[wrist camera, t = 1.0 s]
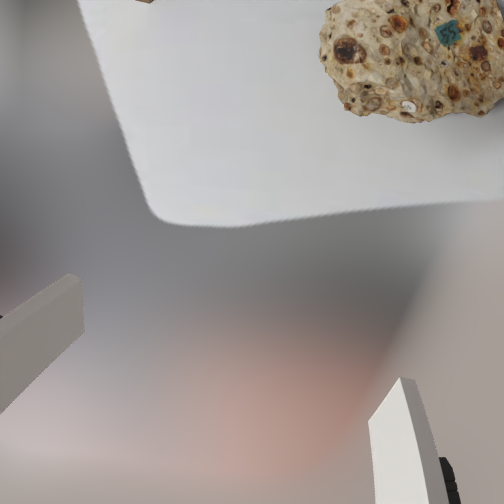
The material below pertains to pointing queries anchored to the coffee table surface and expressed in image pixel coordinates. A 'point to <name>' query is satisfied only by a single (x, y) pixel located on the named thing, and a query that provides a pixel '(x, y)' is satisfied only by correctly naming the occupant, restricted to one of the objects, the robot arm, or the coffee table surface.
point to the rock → (415, 57)
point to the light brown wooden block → (146, 0)
